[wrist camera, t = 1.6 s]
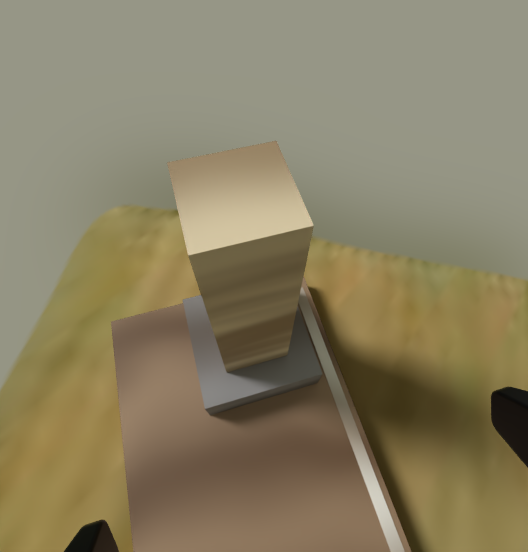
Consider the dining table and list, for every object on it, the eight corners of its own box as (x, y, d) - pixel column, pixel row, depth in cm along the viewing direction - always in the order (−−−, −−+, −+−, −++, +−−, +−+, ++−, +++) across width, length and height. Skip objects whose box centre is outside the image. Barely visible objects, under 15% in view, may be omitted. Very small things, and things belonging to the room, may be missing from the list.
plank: (453, 685, 16) (471, 704, 14) (171, 812, 14) (162, 847, 13) (300, 283, 25) (302, 272, 24) (119, 330, 23) (110, 321, 22)
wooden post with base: (317, 383, 20) (388, 257, 9) (209, 415, 19) (136, 322, 8) (284, 289, 23) (305, 102, 12) (188, 313, 22) (111, 138, 11)
